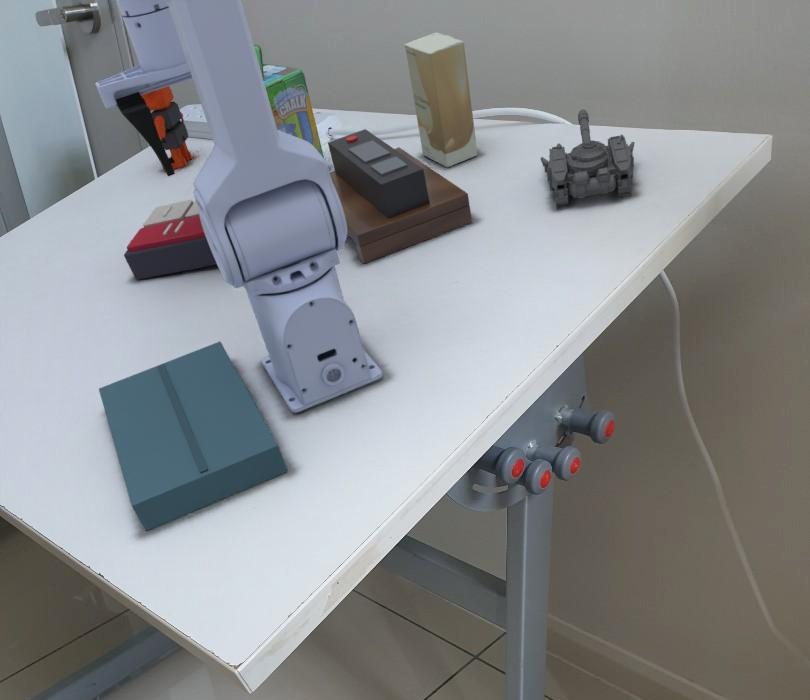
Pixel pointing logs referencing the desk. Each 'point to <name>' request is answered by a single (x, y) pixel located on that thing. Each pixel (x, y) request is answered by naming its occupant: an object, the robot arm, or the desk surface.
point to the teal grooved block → (188, 435)
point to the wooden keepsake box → (402, 216)
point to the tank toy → (590, 166)
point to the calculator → (169, 242)
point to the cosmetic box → (442, 98)
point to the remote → (379, 173)
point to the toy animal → (169, 125)
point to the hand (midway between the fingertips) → (206, 159)
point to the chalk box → (289, 101)
